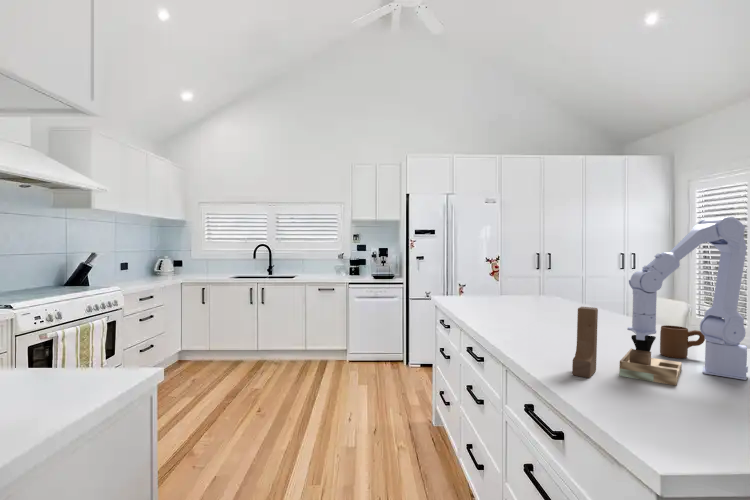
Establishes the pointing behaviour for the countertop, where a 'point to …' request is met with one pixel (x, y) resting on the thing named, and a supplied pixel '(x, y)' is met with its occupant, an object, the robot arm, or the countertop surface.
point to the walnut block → (640, 357)
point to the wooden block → (586, 342)
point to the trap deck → (651, 370)
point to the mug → (677, 341)
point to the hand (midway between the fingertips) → (642, 361)
